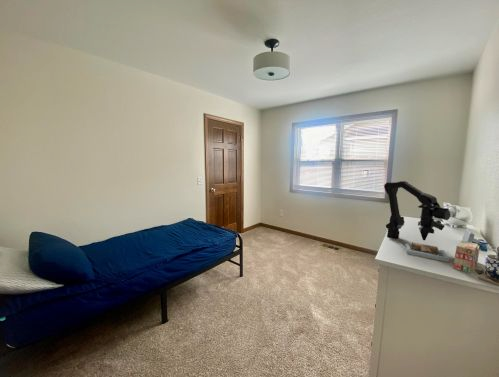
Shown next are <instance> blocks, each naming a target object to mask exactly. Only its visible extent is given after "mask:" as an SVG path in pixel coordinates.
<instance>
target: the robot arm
mask: <svg viewBox="0 0 499 377" xmlns="http://www.w3.org/2000/svg"><path fill="white" fill-rule="evenodd" d="M383 188H384V192H385V193H386V194H387V195H388V202H389V207H390V208H389V209H390V213H391V215H390V218H389V222H388V223H387V224H385V228H386V229H387V233H386V237H387V238H393V239H399V238H400V230H401V228H403V226H404V225H405V223H406V222H405V217H404V216H402V215H400V209H399V203H398V197H397V194H398V191H399V189H401V188H402V189H403V190H405V191H406V192H408V193H409V194H411V195H413V196H414V197H415V198H416V199H417V200H418V201H419V203H420V205H418V206H417V207H418V209H421V213H420V217H419V218H420V220H419V221H418V222H417V226H418V229H419V233H420V236H421V239H422V241H426V240H427V237H428V235H429V234H435V230H434V228H435V229H437V230H440V231H443V229H444V228H445V224H443V223H442V221H441V220H444V221H448V220H449V219H450V218H451V216H452V214H451V212H450V208H447V207H441V205H440V204H439V202H438V198H437V197H436V196H433V194H432V195H431V194H429V193H426V192H423V191H421V190H419V189H418V188H417V187H415V186H414V185H412V184H410V183H408V181H406V180H401V181H396V182H393V181H392V182H386V183H385V184H383ZM435 219H438V220H435Z"/></svg>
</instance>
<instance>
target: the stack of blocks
mask: <svg viewBox="0 0 499 377" xmlns="http://www.w3.org/2000/svg"><path fill="white" fill-rule="evenodd" d="M479 254H480V245H479V244H478V243H474V242H470V241H464V240H460V242H459V243H458V244H457V245H456V247H455V254H454V261H453V262H454V263H453V266H452V267H453V268H452V269H453V270H458V271H460V272H465V273H467V274H472V273H473V271H474V270H475V267H476V266H477V265H478V264H477V263H478V261H479Z"/></svg>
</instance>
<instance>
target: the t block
mask: <svg viewBox="0 0 499 377" xmlns="http://www.w3.org/2000/svg"><path fill="white" fill-rule="evenodd" d="M410 246H411V249H412V250H414V251H419V252H423V253H428V254H435V255H439V254H438V252H439V248H438V246H434V245H429V244H424V243H423V244H422V243H418V242H413V241H412V242H411V245H410Z"/></svg>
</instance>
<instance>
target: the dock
mask: <svg viewBox="0 0 499 377" xmlns="http://www.w3.org/2000/svg"><path fill="white" fill-rule="evenodd" d="M405 251H406V254H409V255H413V256H418V257H422V258H426V259H427V258H428V259H432V260H437V261H441V262H447V263H448V262H450V261H449V260H450V258H449V257H448V255H447V253H446V252H445V250H444V249H440V250H439V254H440V255H439V254H435V253H431V254H428V253H423V252H420V251H419V250H414V249H412V250H411V248H410V243H407V242H406V243H405Z"/></svg>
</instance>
